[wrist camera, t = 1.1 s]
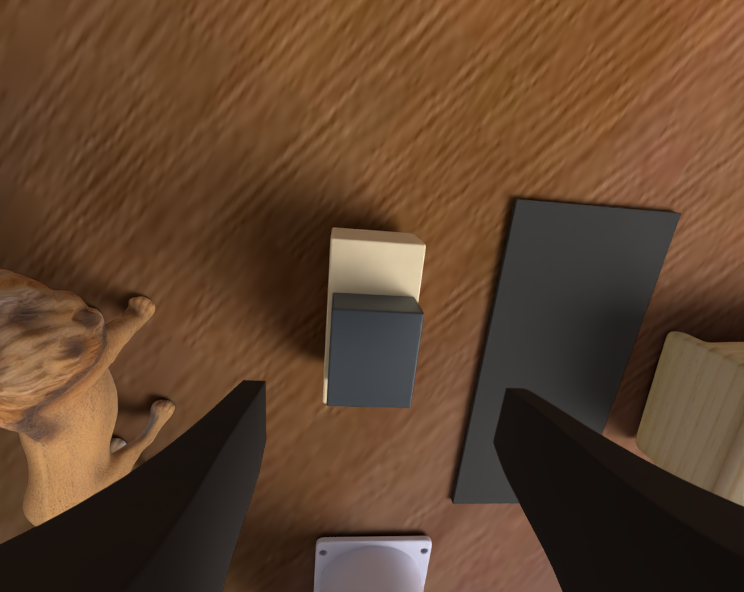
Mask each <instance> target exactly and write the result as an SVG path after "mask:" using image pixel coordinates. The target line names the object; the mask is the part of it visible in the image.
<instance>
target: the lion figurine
mask: <svg viewBox="0 0 744 592" xmlns="http://www.w3.org/2000/svg"><path fill="white" fill-rule="evenodd" d="M154 312H155V305H154V303H153V302H152V301H151V300H150V299H148V298H146V297H143V296H139V297H134V298H131V299H130V300H129V305H128V308H127V309H126V310H125V311H124V313H123V315H122V317H121V318H119V319H116V320H113V321H111V322H109V323H108V324H106V325H105V324H104V319H103V316H102V314H101V313H100V312H99V311H98V310H97V309H95V308H91V307H87V304H86V303H85V302H84V301H83V300H82V298H80V297H79V296H77V295H75V293H74V292H73V291H71V290H52V289H49V288H48V287H47V286H46V285H44V284H42V283H40V282H38V281H36V280H34V279H31V278H28V277H26V276H24V275H22V274H17V273H14V272H13V271H10V270H5V269H0V427H2V428H5V429H7V430H10V431H14V432H18V433H19V438H20V442H21V445H22V447H23V449H24V452H25V455H26V458H27V463H28V470H29V478H28V484H27V488H26V491H25V494H24V499H23V512H24V515H25V517H26V518H27V519H28V520H29V521H30V522H31V523H32V524H33V525H34V526H38V525H40V524H42V523H44V522H46V521H48V520H50V519H51V518H53V517H55V516H57V515H59V514H61V513H63V512H65V511H66V510H68V509H70V508H72V507H74V506H76V505H77V504H79V503H81V502H82V501H84V500H86V499H87V498H89V497H91V496H92V495H94V494H96V493H97V492H99V491H101V490H103V489H104V488H106V487H108V486H109V485H111V484H113V483H114V482H116V481H118V480H119V479H121V478H123V477H124V476H126V475H127V474H129V473H130V471H131V470H132V467H133V465H134V463H135V462H136V461H137V459H138V458H139V456H140V454H141V452H142V451H143V450H144V449H145V448H146V447H148V446H149V445H150V444H151V443H152V442H153V440H154V438H155V437H156V435H157V433H158V432H159V430H160V429H161V427H162V426H163V425H164V424H165V423H166V421H167V420H168V419H169V418H170V417H171V415H172V414H173V412H174V410H175V405H174V404H173V403H172V402H171V401H169V400H157V401H155V402H154V403H153V405H152V407H151V416H150V419H149V422H148V424H147V425H146V427H145V428H144V430H143V431H142V432H141V433H140V434H139V435H138V437H137V438H136V439H135V440H133V441H131V442H129V443H127V444H126V442H125V441H123V440H122V439H119V438H114V439H111V437H112V433H113V430H114V426H115V422H116V418H117V413H118V396H117V390H116V386H115V383H114V380H113V378H112V375H111V373H110V371H109V368H108V367H109V365H110V364H111V363H112V362H113V361H114V360H115V358H116V357H117V355H118V354H119V352H120V351H121V349H122V348H123V347H124V345H125V344H126V343H127V342H128V341H129V340H130V338H131V337H132V336H133V335H134V334H135V333H136V332H137V331H138V330H139V329H140V328H141V327H142V326H143V325H144V324H145V323H146V322H147V321H148V320H149V319H150V318H151V316H152V315H153V314H154Z"/></svg>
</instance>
